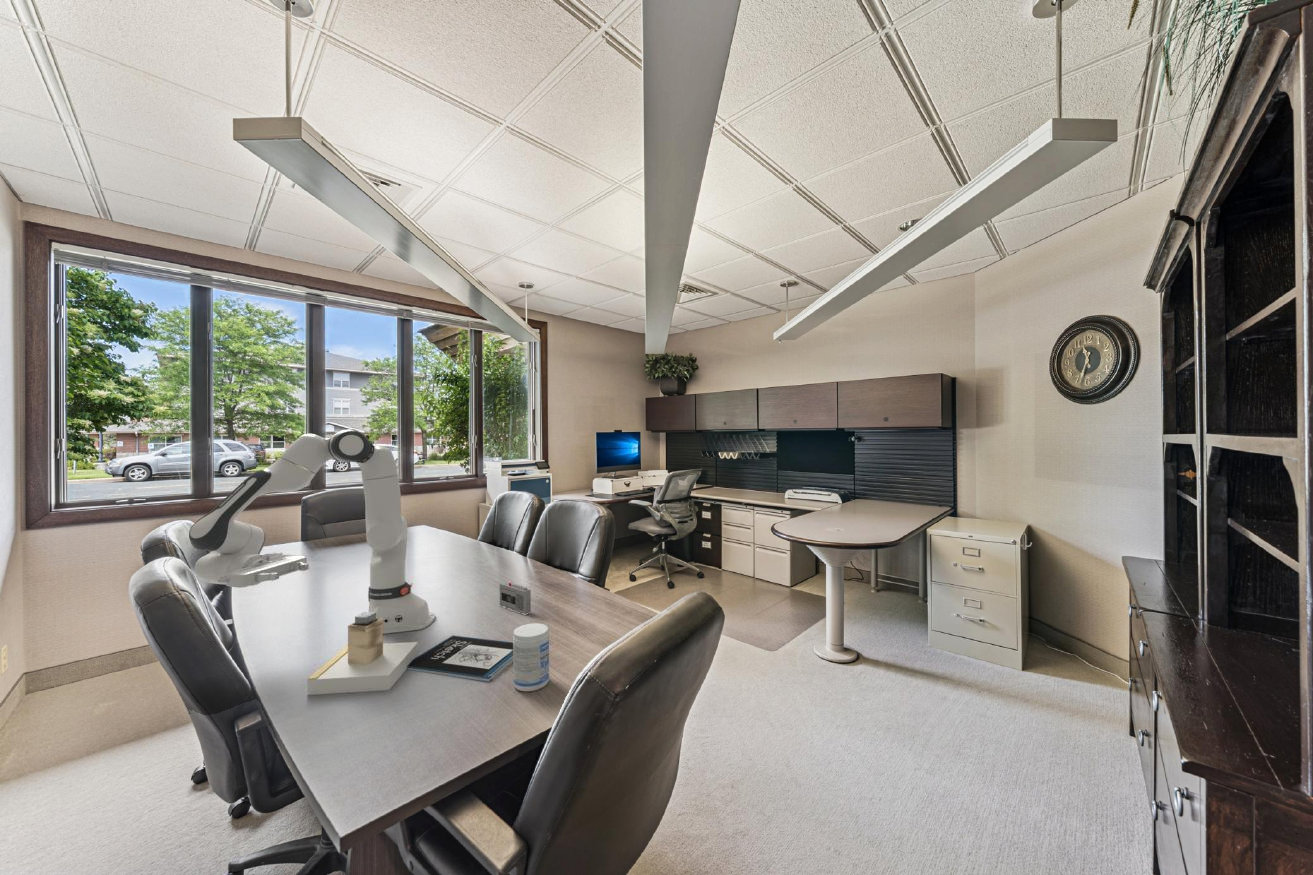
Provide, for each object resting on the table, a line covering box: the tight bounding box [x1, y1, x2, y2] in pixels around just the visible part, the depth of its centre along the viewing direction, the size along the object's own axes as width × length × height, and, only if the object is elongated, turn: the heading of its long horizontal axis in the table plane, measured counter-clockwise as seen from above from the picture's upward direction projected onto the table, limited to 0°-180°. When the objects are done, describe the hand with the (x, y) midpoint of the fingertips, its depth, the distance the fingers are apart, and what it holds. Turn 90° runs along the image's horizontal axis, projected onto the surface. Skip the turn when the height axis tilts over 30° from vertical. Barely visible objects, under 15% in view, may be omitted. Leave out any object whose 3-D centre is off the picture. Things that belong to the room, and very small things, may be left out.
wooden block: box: [347, 618, 384, 665], centre depth 132 cm, size 6×6×10 cm
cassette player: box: [499, 581, 532, 614], centre depth 180 cm, size 16×3×10 cm, turn 54°
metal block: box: [354, 611, 376, 626], centre depth 132 cm, size 4×4×4 cm
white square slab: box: [306, 641, 419, 696], centre depth 132 cm, size 20×20×4 cm
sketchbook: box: [406, 635, 513, 683], centre depth 141 cm, size 22×30×2 cm
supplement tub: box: [512, 622, 550, 692], centre depth 126 cm, size 10×10×15 cm
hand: (292, 571), depth 135 cm, fingers open, 8 cm apart
